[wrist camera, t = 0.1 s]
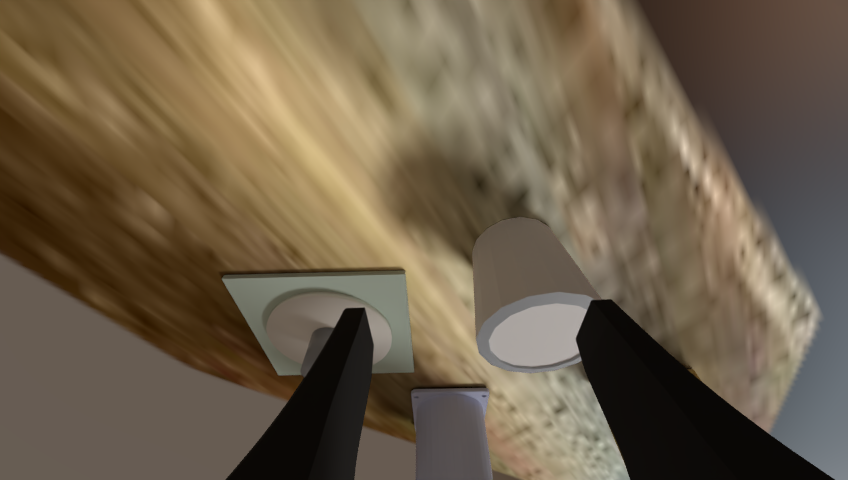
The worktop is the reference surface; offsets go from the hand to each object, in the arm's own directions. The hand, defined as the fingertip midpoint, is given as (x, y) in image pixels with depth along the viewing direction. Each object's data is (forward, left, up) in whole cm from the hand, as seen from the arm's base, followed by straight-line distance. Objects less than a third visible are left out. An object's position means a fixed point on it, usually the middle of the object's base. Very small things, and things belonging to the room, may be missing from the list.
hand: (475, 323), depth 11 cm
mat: (-14, +10, -10) cm, 19 cm away
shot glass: (-6, -4, -10) cm, 12 cm away
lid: (-14, +10, -10) cm, 19 cm away
